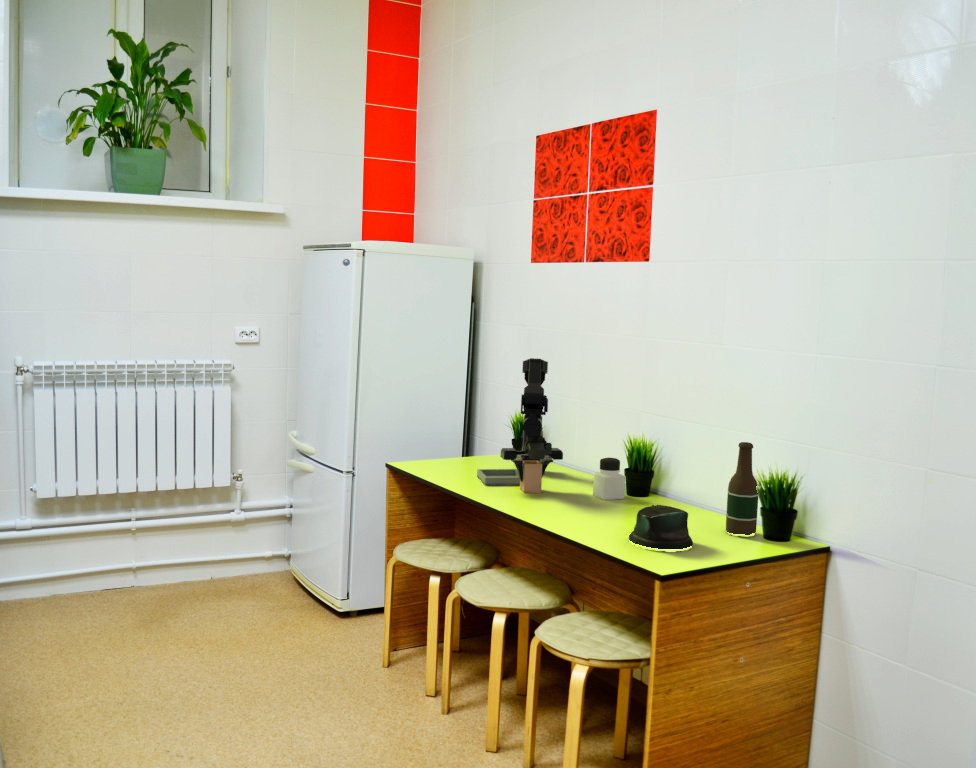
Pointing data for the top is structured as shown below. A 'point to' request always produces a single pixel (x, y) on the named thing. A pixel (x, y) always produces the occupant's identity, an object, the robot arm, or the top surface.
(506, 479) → the tray
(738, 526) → the beer bottle
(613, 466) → the medicine bottle
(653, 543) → the dark green bucket hat
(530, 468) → the terracotta cup
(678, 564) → the top surface
